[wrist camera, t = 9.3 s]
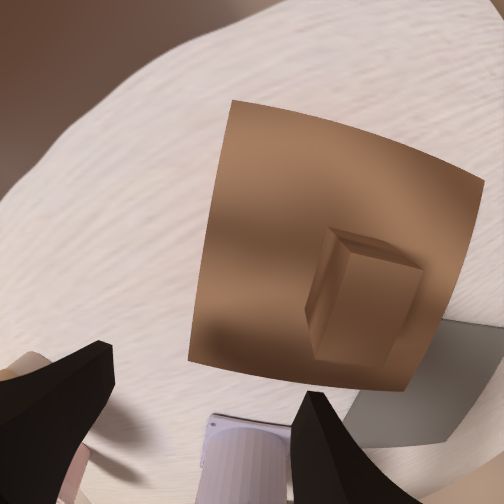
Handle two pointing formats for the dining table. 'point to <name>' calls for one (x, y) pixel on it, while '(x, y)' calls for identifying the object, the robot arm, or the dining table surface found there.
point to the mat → (430, 390)
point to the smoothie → (74, 476)
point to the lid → (327, 252)
